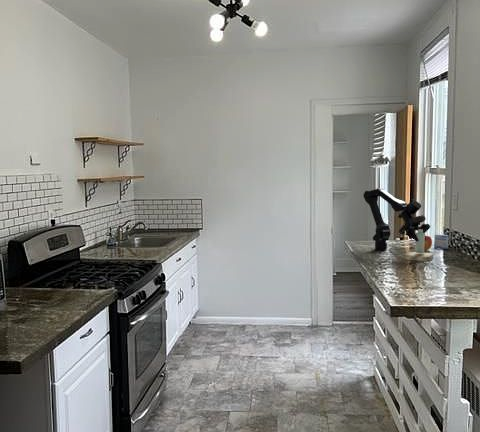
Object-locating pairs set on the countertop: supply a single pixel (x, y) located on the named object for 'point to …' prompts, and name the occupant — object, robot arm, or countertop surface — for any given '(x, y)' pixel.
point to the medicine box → (441, 241)
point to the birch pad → (419, 256)
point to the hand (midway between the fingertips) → (421, 240)
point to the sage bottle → (420, 241)
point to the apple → (428, 243)
